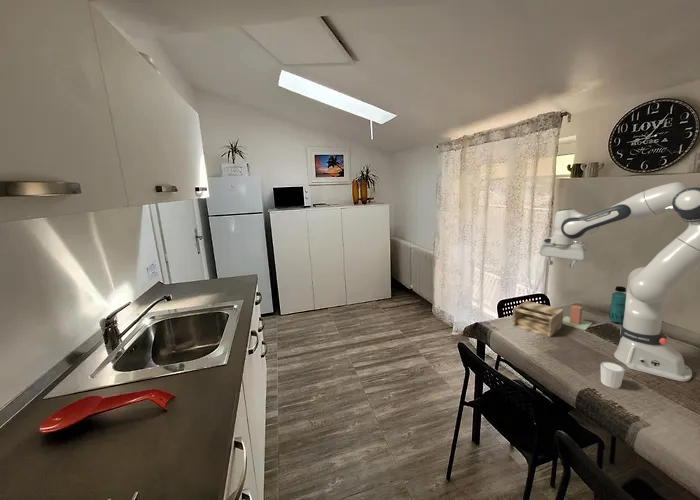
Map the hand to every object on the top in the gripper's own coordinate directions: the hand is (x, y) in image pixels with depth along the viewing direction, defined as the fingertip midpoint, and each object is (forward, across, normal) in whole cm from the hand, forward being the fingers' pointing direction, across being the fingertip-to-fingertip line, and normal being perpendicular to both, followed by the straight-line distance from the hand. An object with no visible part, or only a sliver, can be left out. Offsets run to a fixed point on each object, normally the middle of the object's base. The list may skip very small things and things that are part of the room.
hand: (560, 265), depth 157 cm
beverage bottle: (+32, -21, -21) cm, 44 cm away
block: (+32, -7, -6) cm, 33 cm away
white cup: (+32, -33, +43) cm, 63 cm away
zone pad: (+32, -7, -6) cm, 33 cm away
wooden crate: (+32, +5, +12) cm, 35 cm away
